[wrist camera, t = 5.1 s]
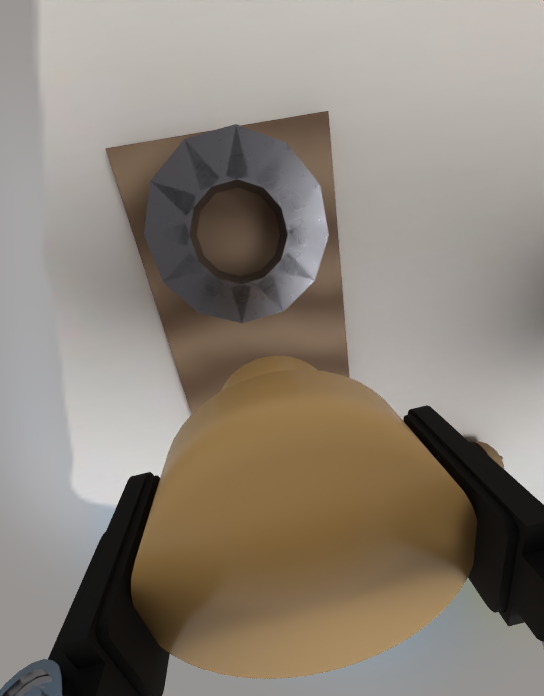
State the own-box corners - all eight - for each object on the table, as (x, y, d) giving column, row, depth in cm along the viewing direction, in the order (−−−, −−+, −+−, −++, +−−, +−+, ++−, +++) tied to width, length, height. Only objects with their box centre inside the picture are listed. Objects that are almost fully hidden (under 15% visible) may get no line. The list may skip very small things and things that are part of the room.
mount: (347, 404, 33) (351, 410, 32) (202, 435, 32) (200, 442, 31) (323, 116, 23) (328, 111, 22) (112, 152, 22) (105, 148, 21)
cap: (393, 399, 14) (535, 554, 7) (277, 499, 15) (307, 703, 9) (273, 284, 11) (323, 362, 5) (147, 418, 13) (53, 619, 6)
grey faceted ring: (341, 234, 25) (360, 235, 21) (242, 334, 27) (242, 351, 23) (234, 103, 21) (234, 76, 17) (127, 233, 23) (107, 234, 19)
